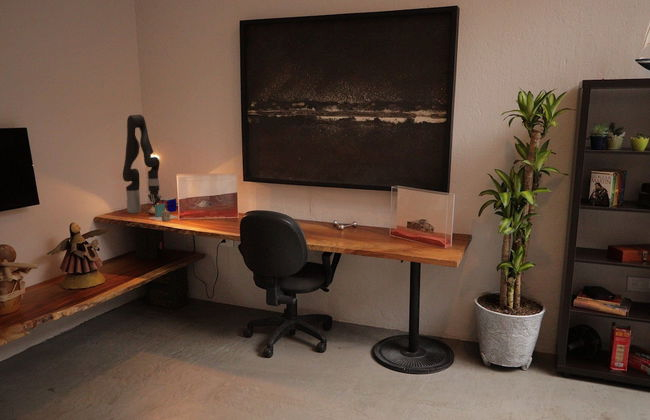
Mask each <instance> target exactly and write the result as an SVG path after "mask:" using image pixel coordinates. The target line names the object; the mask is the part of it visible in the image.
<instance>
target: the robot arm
mask: <svg viewBox="0 0 650 420" xmlns="http://www.w3.org/2000/svg"><path fill="white" fill-rule="evenodd" d="M136 129H139V131H140V141H139V140H138V138H137V136H136ZM126 131H127V132H126V134H127V135H126V145H125V158H124V165H123V169H122V170H123V171H122V179H123V181H124V182H128V183H129V182H131V183H130V184H129V185H127V186H125V187H126V188H125V190H126V191H125V192H126V208H127V213H128V214H138V213H141V212H142V210H141V209H142V208H141V197H140V196H141V195H140V173H139V170H138V169H137V168H132V166H133V163H134V162H135V160H136V159H137V158H138V156H139V155H140V154H139V153H140V149H141V150H142V153H143V163H144V165H145V166H146V167H147V168H150V170H148V171H147V179H148V180H147V184H148V187H147V188H148V192H149V194H148V195H147V196H148V198H149V200H150V202H151V203H152V207H153V208H154V205H157V204H158V202H159V200H160V199H162V195H160V194H159V191H160V181H159V180H160V179H159V169H160V160H159V158H158V157H156V156H152V154H153V153H154V150H153V147H152V145H151V140H150V138H149V133H148V128H147V123H146V120H145V117H144V116H143V115H142V114H131V115H129V116H127V121H126ZM139 142H140V143H139ZM140 147H141V148H140Z"/></svg>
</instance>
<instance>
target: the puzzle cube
mask: <svg viewBox="0 0 650 420" xmlns="http://www.w3.org/2000/svg"><path fill="white" fill-rule="evenodd" d="M158 203H159V204H162V203H165V208H166V210H167V211H170V213H172V212H176V210H177V211H178V206H177V198H175V197H163V198H162V197H161V198H160V200H159V202H157V204H158Z"/></svg>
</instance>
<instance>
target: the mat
mask: <svg viewBox="0 0 650 420" xmlns="http://www.w3.org/2000/svg"><path fill="white" fill-rule="evenodd" d="M176 218H178V216H177V215H172V214H170V220H172V219H176ZM148 219H152V220H156V221H159V222H160V221H161V222H163V221H162V216H161V217H155V216H150V217H148Z"/></svg>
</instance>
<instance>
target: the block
mask: <svg viewBox="0 0 650 420" xmlns="http://www.w3.org/2000/svg"><path fill="white" fill-rule="evenodd" d="M161 214H162V221H161V222H170V221H171V219H170V215H171V212H170V211H162V212H161Z"/></svg>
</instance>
